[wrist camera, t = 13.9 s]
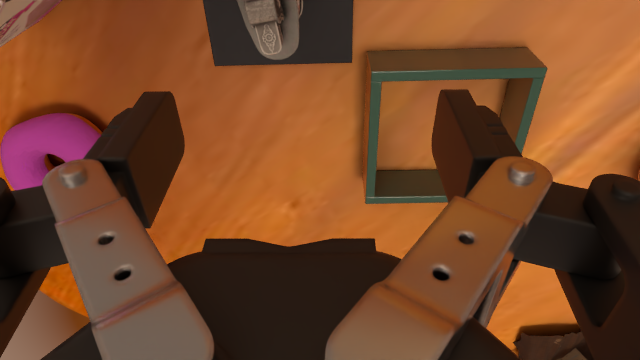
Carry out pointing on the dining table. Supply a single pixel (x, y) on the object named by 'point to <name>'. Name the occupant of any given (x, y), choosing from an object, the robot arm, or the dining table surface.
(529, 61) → the frame
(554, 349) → the potted plant
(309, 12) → the mat
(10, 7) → the candy bar box
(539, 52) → the dining table surface
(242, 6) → the lighter
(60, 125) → the donut
